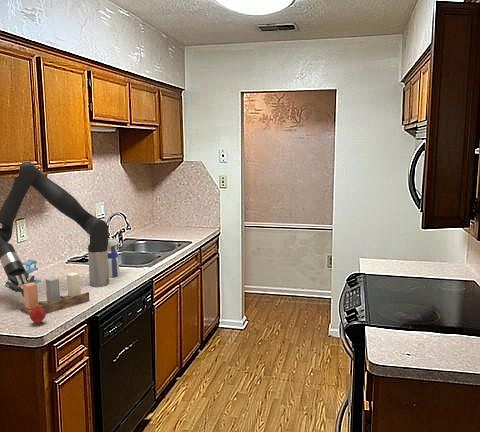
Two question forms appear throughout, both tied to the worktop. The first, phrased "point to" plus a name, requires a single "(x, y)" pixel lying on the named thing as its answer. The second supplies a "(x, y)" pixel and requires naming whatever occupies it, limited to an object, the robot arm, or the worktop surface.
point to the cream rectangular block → (73, 284)
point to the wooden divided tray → (60, 303)
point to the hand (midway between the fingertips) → (27, 297)
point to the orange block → (30, 295)
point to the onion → (37, 314)
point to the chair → (31, 269)
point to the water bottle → (113, 258)
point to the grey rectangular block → (52, 289)
